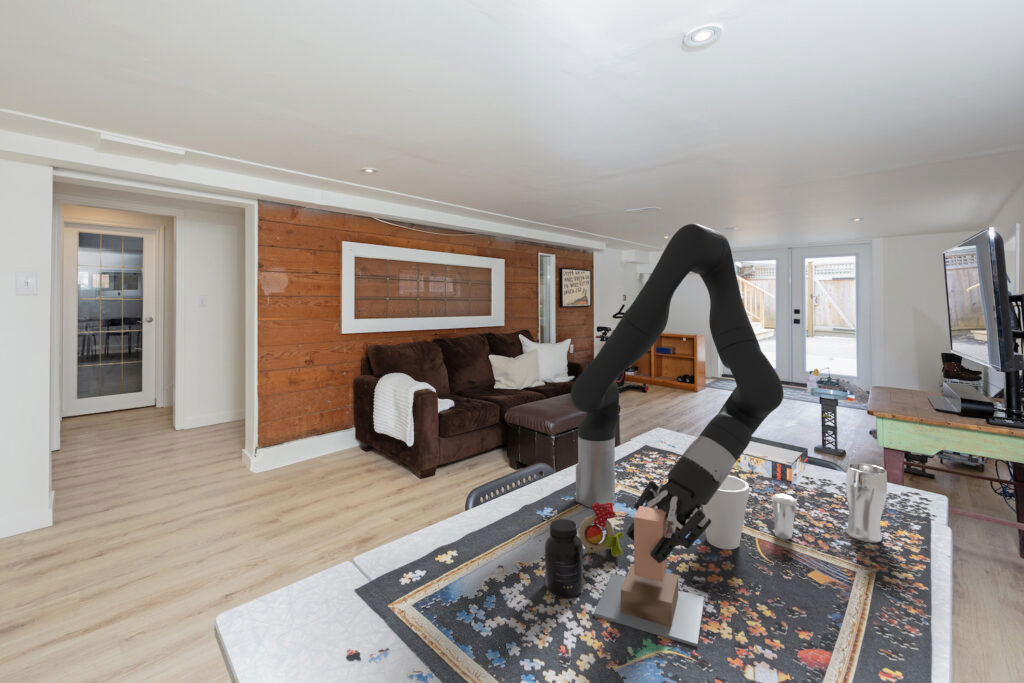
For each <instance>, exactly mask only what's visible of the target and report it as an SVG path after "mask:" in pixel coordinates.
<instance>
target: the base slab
mask: <svg viewBox="0 0 1024 683" xmlns="http://www.w3.org/2000/svg"><path fill="white" fill-rule="evenodd" d="M625 577H626V578H625V581H624V583H623V585H622V588H621V613H624V614H628V615H631V616H635V617H638V618H641V619H645V620H648V621H652V622H655V623H659V624H662V625H666V626H669V627H672V622H673V618H674V614H675V609H676V605H677V600H678V590H679V575H677V574H675V573H674V574H673V573H669V572H665V575H664V579H663V582H660V581H656V580H652V579H648V578H644V577H640V576H636V575H634V563H633V564H632V563H631V564H630V567H629V570H628V571H627V574H626V576H625Z"/></svg>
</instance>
